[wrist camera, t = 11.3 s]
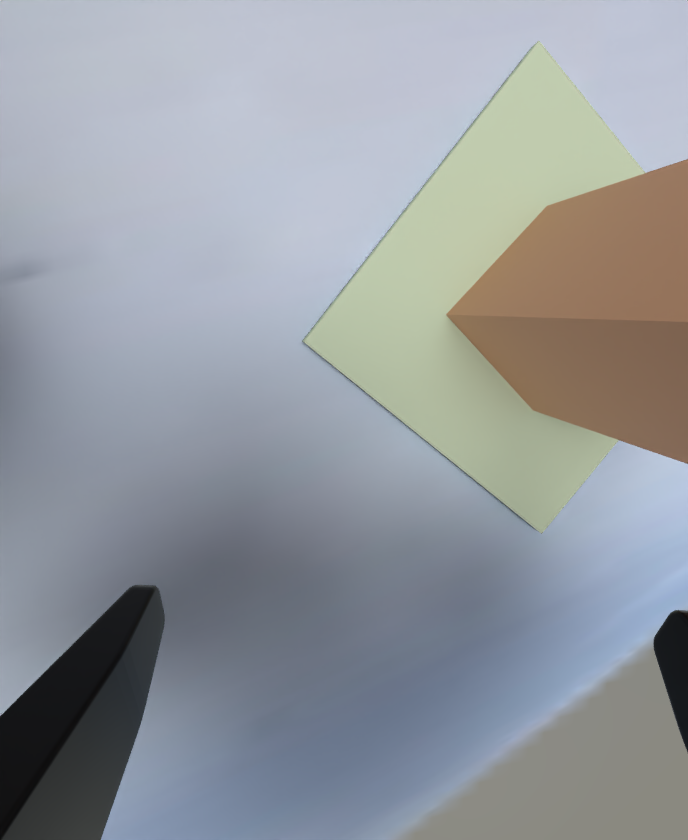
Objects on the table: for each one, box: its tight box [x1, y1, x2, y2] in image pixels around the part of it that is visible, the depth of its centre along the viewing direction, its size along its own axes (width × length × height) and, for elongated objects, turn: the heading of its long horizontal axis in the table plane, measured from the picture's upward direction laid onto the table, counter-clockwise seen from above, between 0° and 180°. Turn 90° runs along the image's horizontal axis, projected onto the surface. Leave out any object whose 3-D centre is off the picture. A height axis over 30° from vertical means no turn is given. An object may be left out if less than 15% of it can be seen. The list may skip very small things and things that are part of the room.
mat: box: [303, 41, 645, 534], centre depth 18 cm, size 12×12×1 cm
